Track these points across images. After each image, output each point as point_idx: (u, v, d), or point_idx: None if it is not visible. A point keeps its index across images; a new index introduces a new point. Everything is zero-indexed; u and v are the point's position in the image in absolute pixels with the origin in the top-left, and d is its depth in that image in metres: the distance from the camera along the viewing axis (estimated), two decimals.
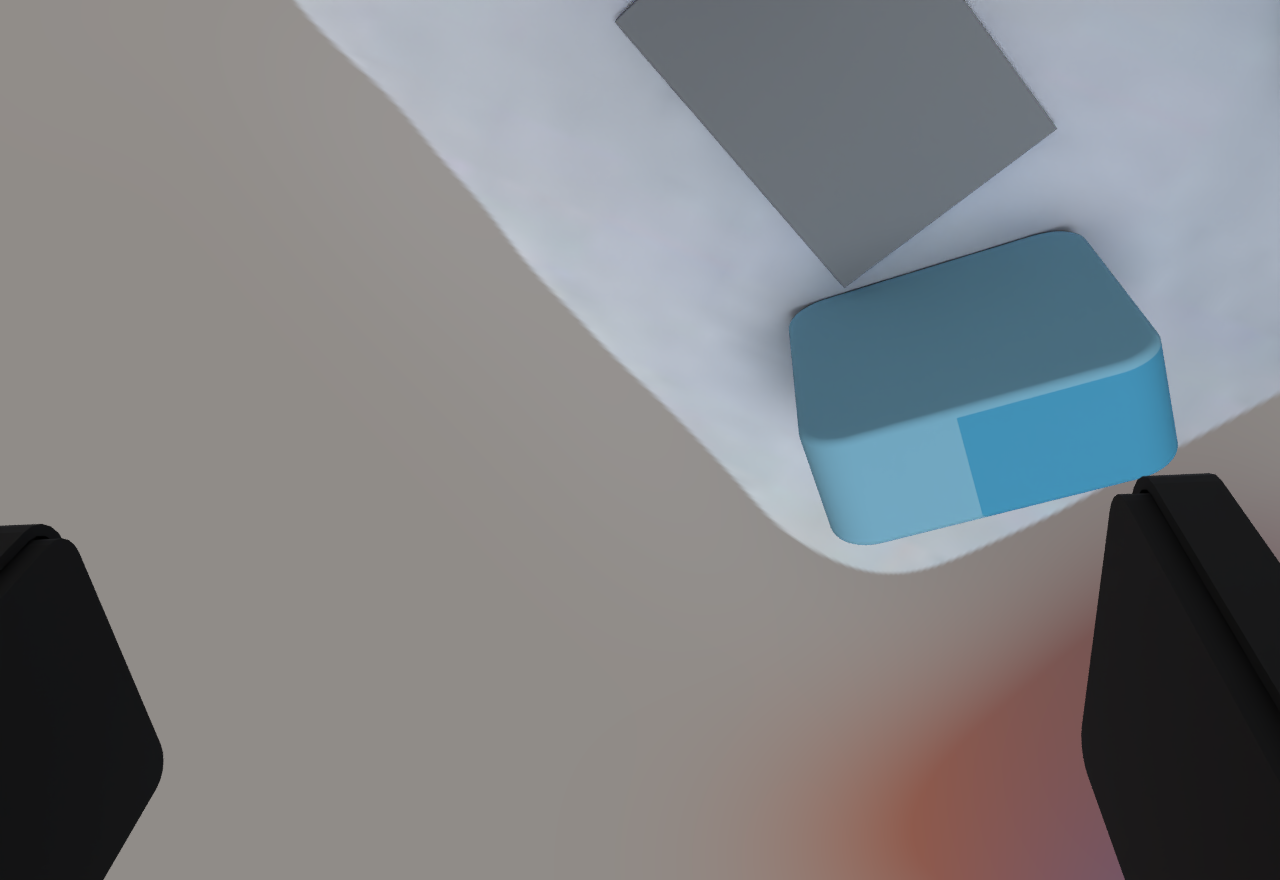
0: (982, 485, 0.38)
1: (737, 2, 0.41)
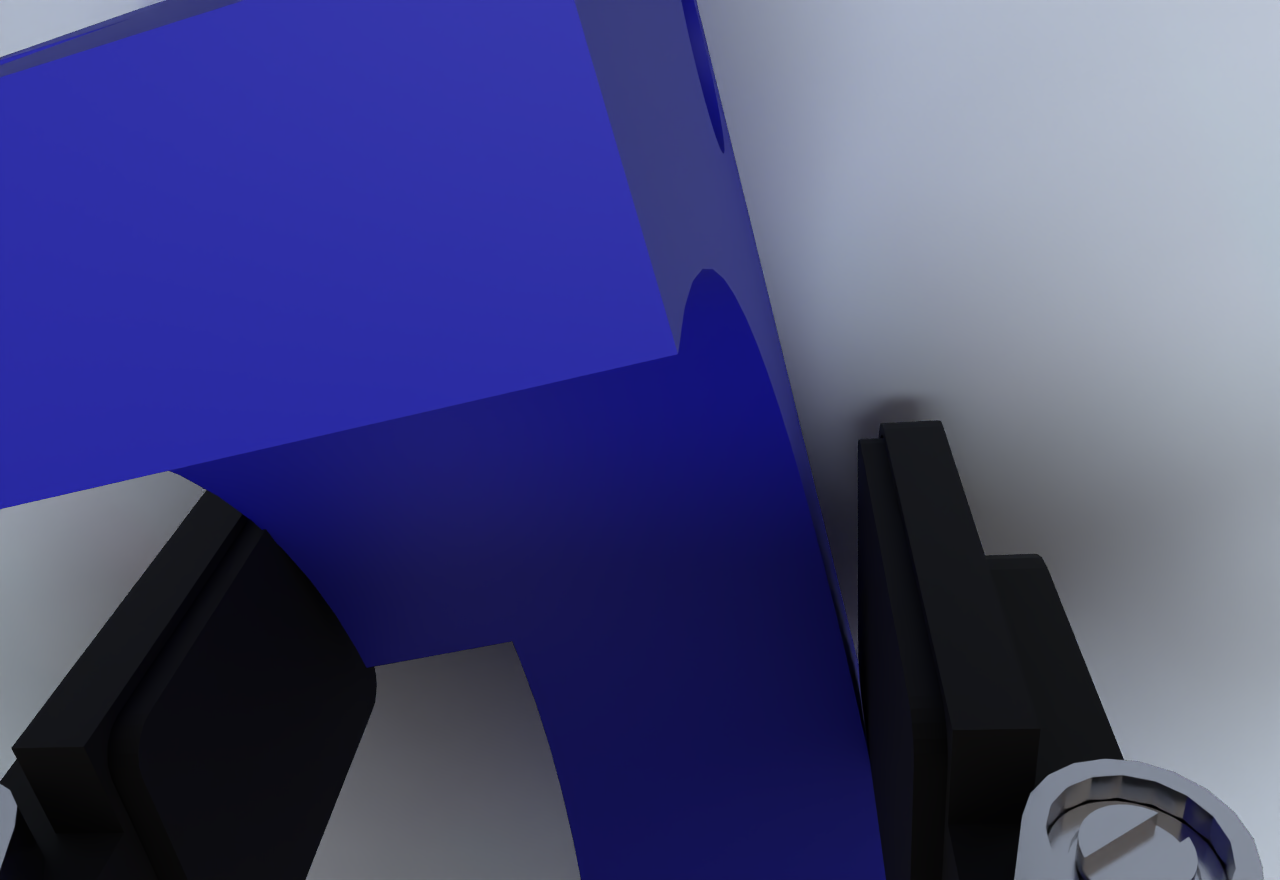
0: None
1: None
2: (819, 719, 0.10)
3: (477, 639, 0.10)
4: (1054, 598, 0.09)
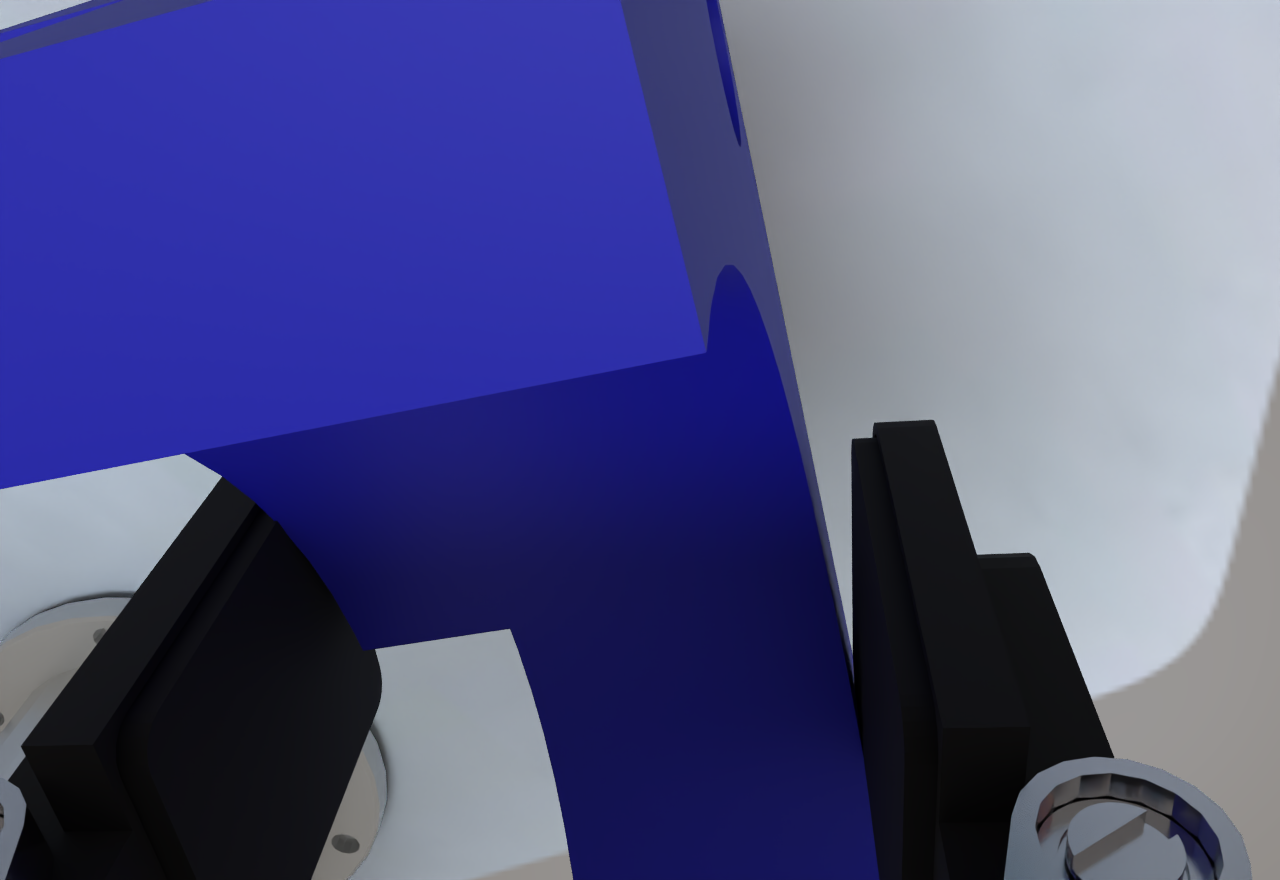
0: None
1: None
2: (815, 715, 0.10)
3: (475, 625, 0.10)
4: (1046, 597, 0.09)
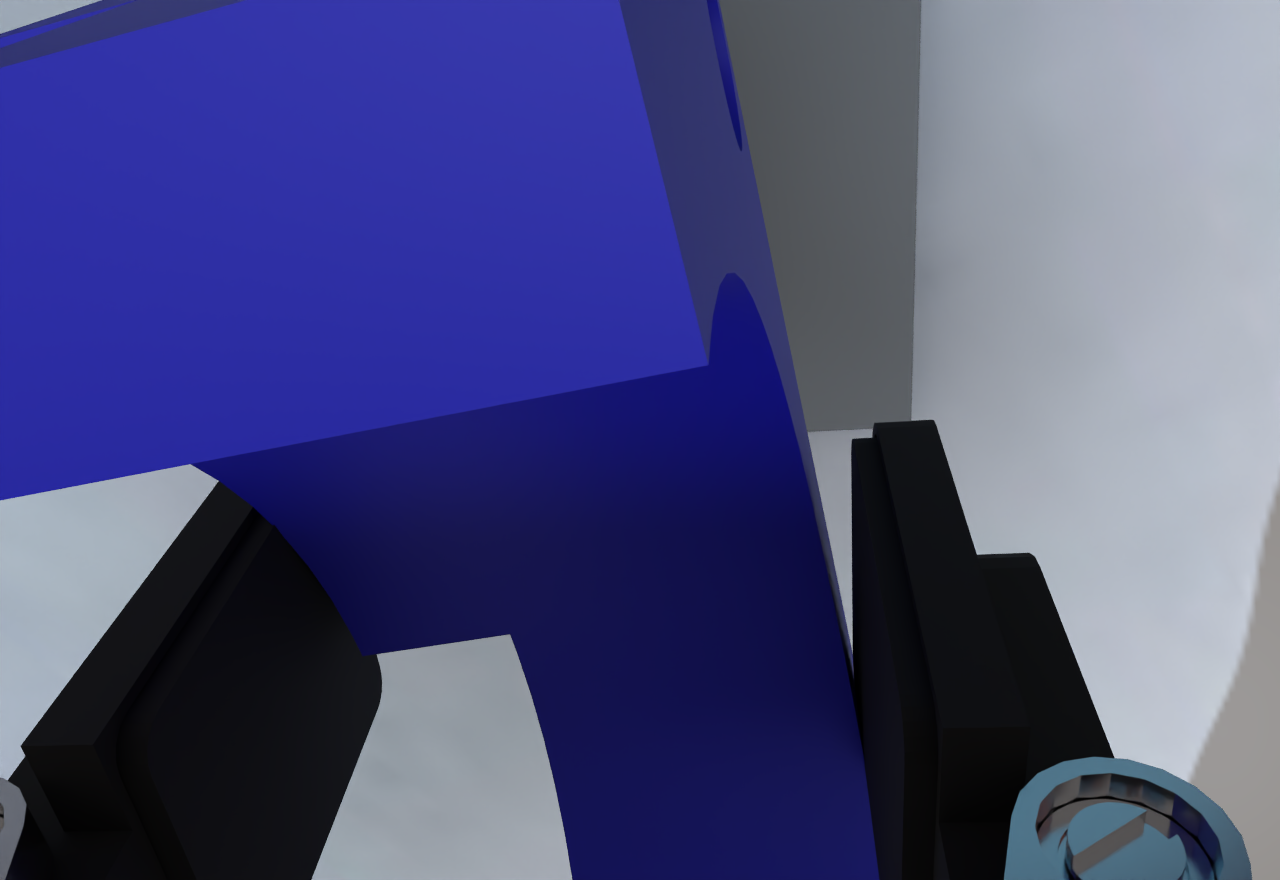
0: None
1: None
2: (816, 722, 0.10)
3: (475, 631, 0.10)
4: (1046, 597, 0.09)
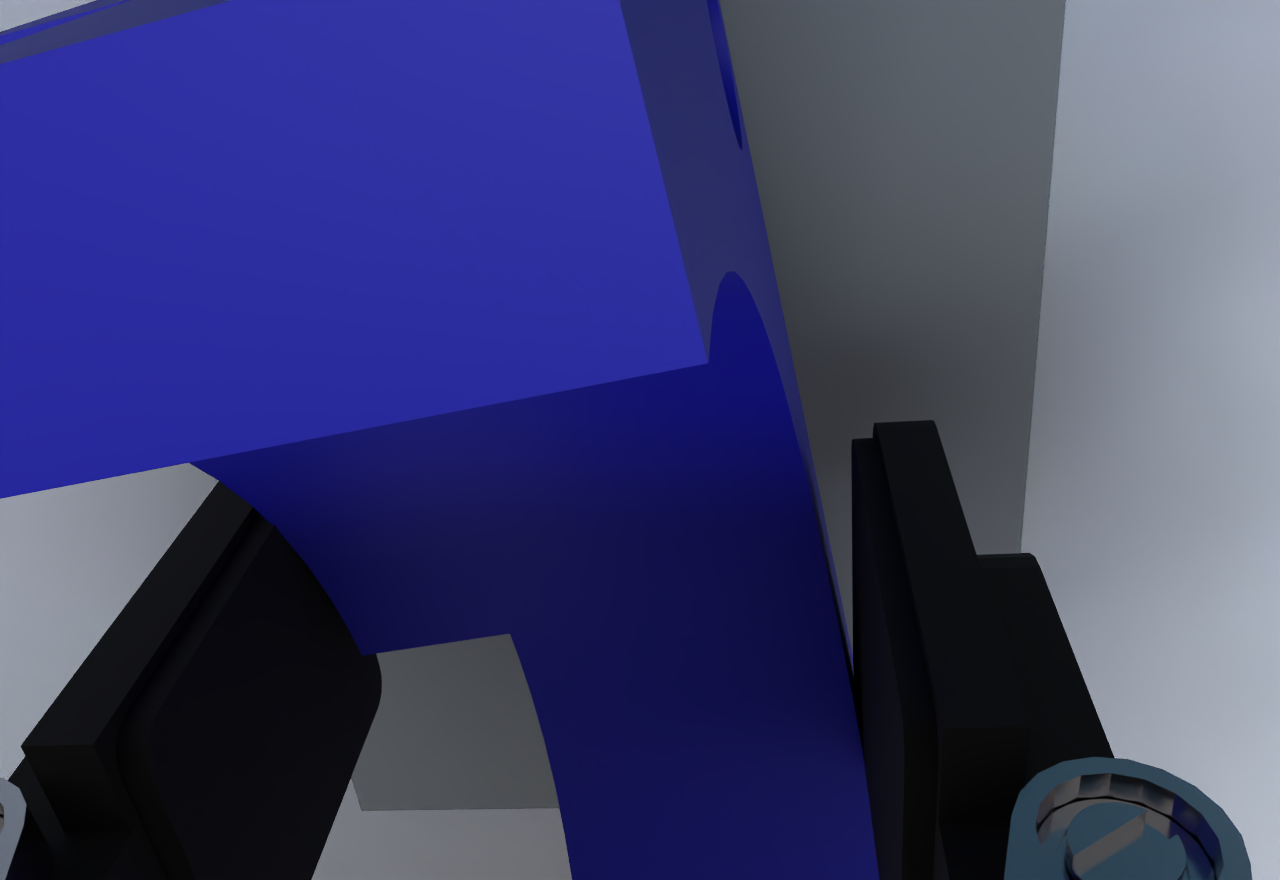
0: None
1: None
2: (816, 722, 0.10)
3: (474, 630, 0.10)
4: (1046, 597, 0.09)
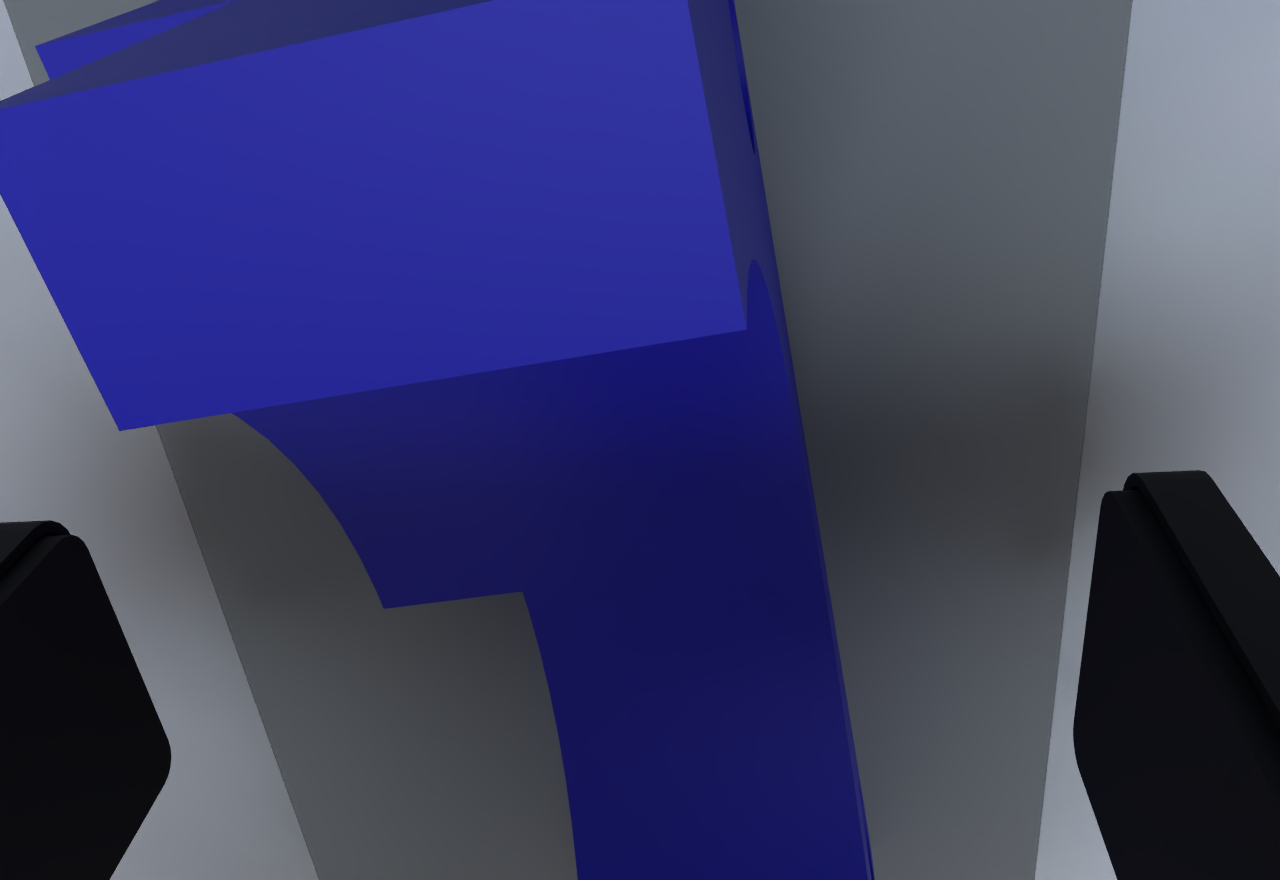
0: None
1: None
2: (801, 679, 0.11)
3: (490, 587, 0.11)
4: None
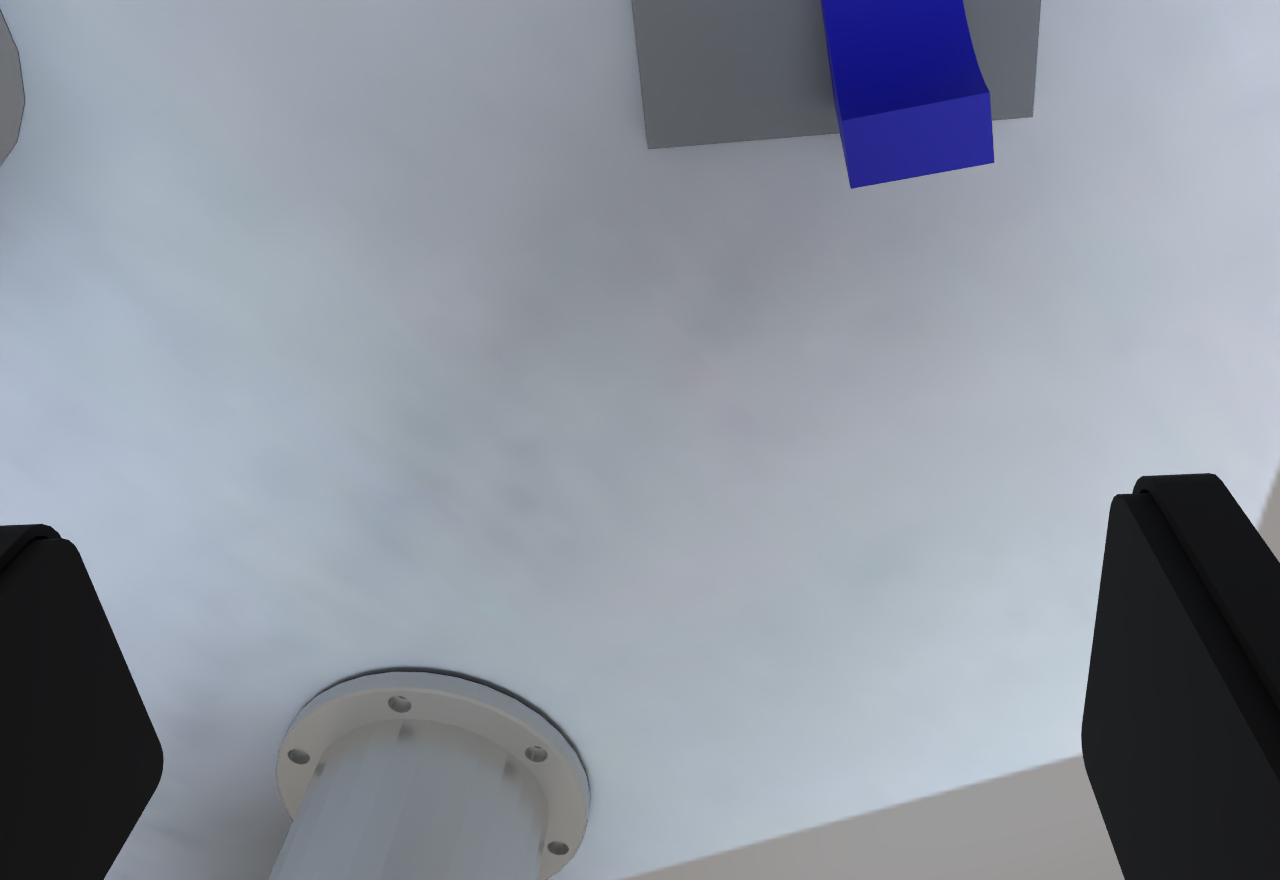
0: None
1: None
2: None
3: None
4: None
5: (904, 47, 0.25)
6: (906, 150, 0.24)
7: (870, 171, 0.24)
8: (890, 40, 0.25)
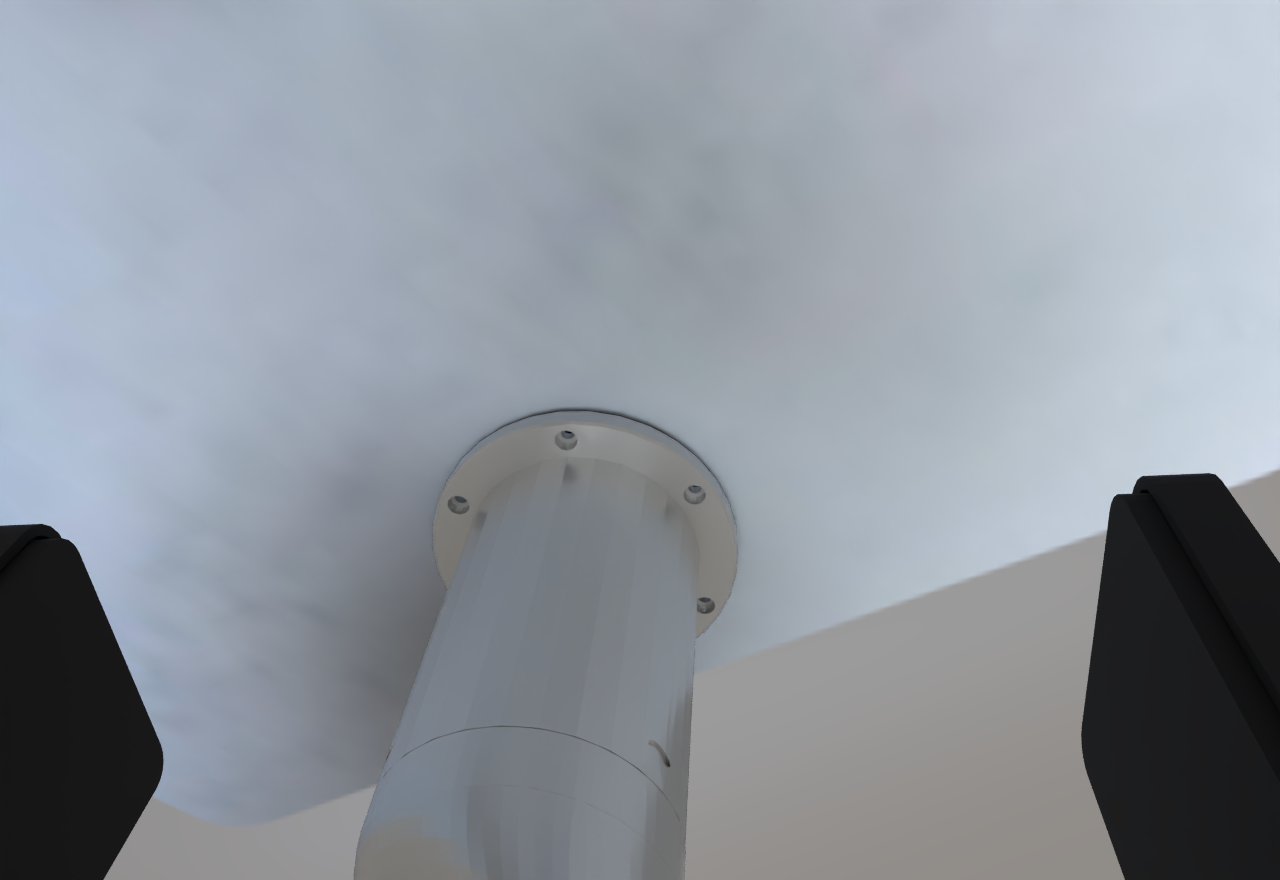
0: None
1: None
2: None
3: None
4: None
5: None
6: None
7: None
8: None
